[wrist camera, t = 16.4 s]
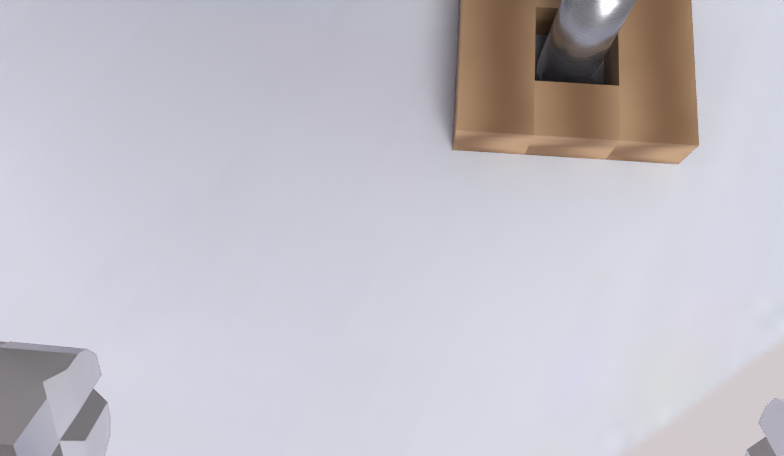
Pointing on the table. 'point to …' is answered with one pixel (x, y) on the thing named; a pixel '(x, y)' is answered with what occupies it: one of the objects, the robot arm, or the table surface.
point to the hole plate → (576, 86)
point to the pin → (580, 39)
